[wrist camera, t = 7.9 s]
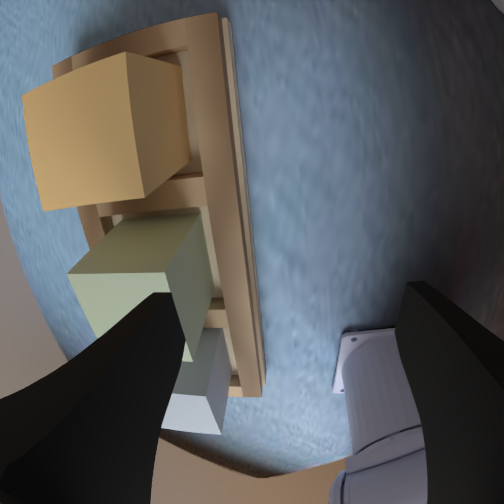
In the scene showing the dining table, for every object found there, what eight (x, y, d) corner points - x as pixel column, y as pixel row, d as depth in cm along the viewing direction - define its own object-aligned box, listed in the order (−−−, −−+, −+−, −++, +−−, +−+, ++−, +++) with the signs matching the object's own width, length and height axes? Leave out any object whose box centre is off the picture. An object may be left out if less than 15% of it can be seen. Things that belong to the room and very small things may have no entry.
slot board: (231, 24, 12) (222, 10, 10) (266, 371, 24) (264, 397, 22) (75, 67, 13) (49, 67, 11) (158, 367, 25) (150, 389, 23)
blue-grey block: (221, 323, 20) (205, 396, 14) (232, 369, 22) (221, 434, 17) (155, 322, 20) (125, 387, 15) (172, 366, 23) (153, 426, 17)
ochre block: (191, 160, 14) (144, 197, 9) (110, 171, 15) (43, 211, 10) (181, 66, 12) (125, 51, 7) (97, 88, 13) (22, 95, 7)
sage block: (201, 212, 16) (164, 272, 11) (214, 288, 18) (192, 361, 13) (122, 219, 16) (66, 273, 11) (143, 288, 19) (105, 353, 14)
